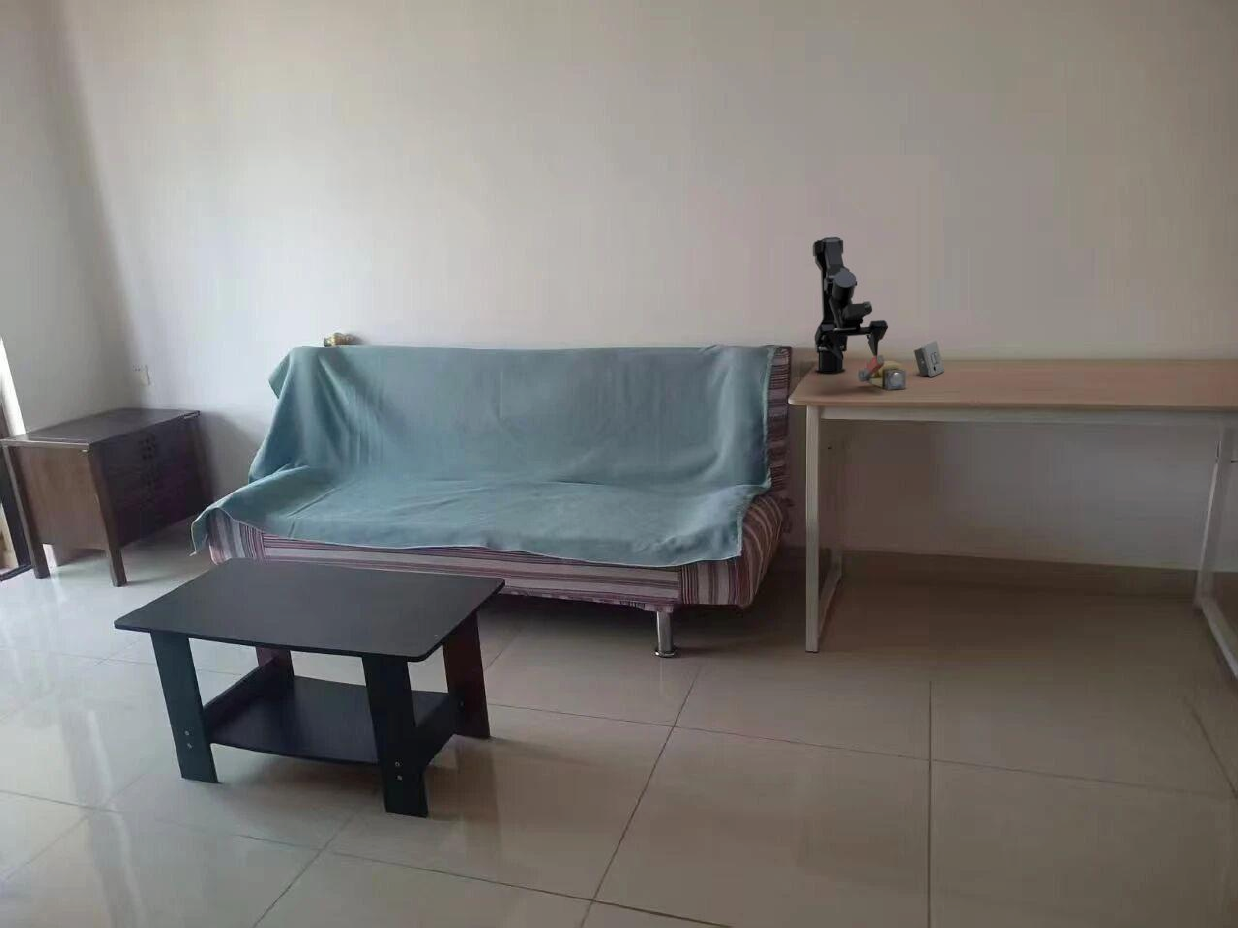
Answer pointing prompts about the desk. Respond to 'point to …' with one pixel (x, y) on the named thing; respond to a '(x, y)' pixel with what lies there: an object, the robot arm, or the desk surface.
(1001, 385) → the desk surface
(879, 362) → the lever
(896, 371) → the valve
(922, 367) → the electrical switch
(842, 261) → the robot arm
